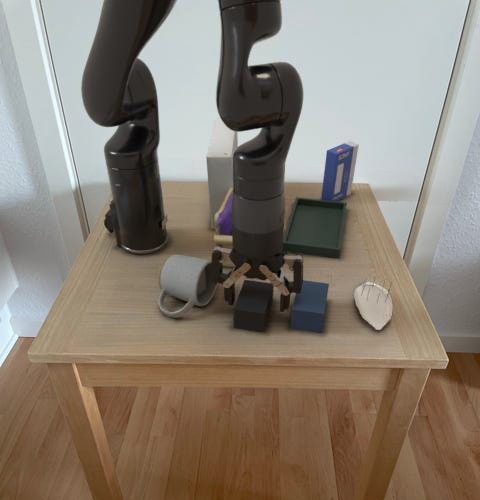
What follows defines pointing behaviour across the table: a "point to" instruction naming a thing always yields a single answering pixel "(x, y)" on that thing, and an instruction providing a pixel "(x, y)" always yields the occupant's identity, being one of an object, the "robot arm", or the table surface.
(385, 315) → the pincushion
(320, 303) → the dark blue block
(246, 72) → the robot arm
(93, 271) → the table surface
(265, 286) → the charcoal pad
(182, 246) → the table surface
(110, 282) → the table surface
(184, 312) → the ceramic mug
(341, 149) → the blue and white box
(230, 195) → the toy sofa
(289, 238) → the pad frame
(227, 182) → the skincare box
